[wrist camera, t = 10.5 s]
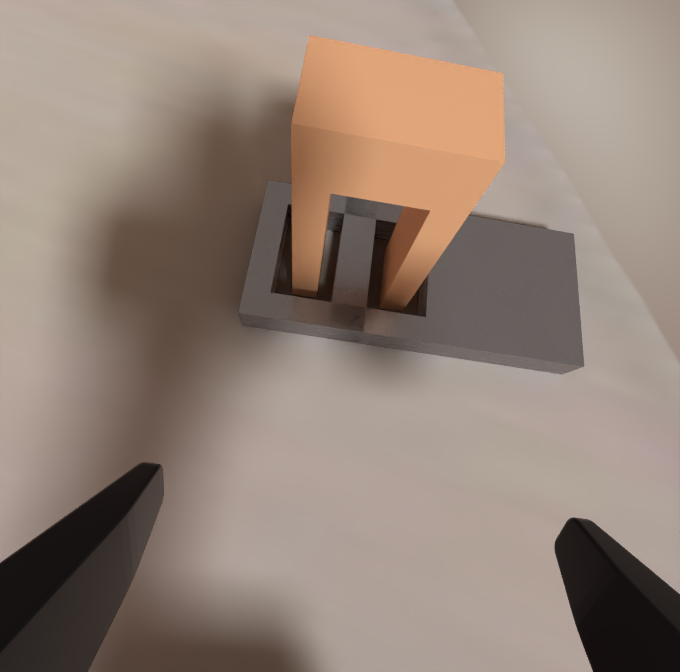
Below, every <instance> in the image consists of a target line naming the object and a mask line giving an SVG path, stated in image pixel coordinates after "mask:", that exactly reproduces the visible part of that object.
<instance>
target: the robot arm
mask: <svg viewBox="0 0 680 672" xmlns="http://www.w3.org/2000/svg"><path fill="white" fill-rule="evenodd" d="M163 496H164V481H163V467H162V466H161V465H160V464H154V463H147V462H143V463H140V464H138V465H137V466H135V467H134V468H133V469H131V470H130V471H128V472H127V473H126V474H124V475H123V476H121V477H120V478H119V479H117V480H116V481H114V482H113V483H111V484H110V485H109V486H107V487H106V488H104V489H103V490H102V491H100V492H99V493H97V494H96V495H95V496H93V497H92V498H90V499H89V500H88V501H86V502H85V503H83V504H82V505H81V506H79V507H78V508H76V509H75V510H74V511H72V512H71V513H69V514H68V515H67V516H65V517H64V518H62V519H61V520H60V521H58V522H57V523H55V524H54V525H53V526H51V527H50V528H48V529H47V530H46V531H44V532H43V533H41V534H40V535H39V536H37V537H36V538H34V539H33V540H31V541H30V542H29V543H27V544H26V545H24V546H23V547H22V548H20V549H19V550H17V551H16V552H15V553H13V554H12V555H10V556H9V557H8V558H6V559H5V560H3V561H2V562H1V563H0V672H88V670H89V668H90V666H91V664H92V662H93V660H94V658H95V656H96V654H97V652H98V650H99V648H100V646H101V644H102V642H103V640H104V638H105V636H106V634H107V632H108V630H109V627H110V625H111V623H112V621H113V619H114V617H115V615H116V613H117V611H118V609H119V607H120V605H121V603H122V601H123V599H124V597H125V595H126V593H127V591H128V589H129V587H130V585H131V582H132V580H133V578H134V576H135V573H136V571H137V568H138V566H139V563H140V560H141V558H142V555H143V552H144V550H145V547H146V544H147V541H148V539H149V536H150V533H151V531H152V528H153V525H154V523H155V520H156V517H157V515H158V512H159V509H160V507H161V504H162V501H163ZM555 554H556V557H557V561H558V565H559V568H560V572H561V575H562V579H563V582H564V586H565V589H566V593H567V596H568V600H569V604H570V607H571V611H572V614H573V617H574V621H575V624H576V627H577V630H578V633H579V635H580V638H581V641H582V644H583V646H584V649H585V652H586V654H587V657H588V660H589V662H590V665H591V667H592V670H593V672H680V594H679V593H678V592H676V591H675V590H674V589H673V588H672V587H670V586H669V585H668V584H667V583H666V582H664V581H663V580H662V579H661V578H660V577H658V576H657V575H656V574H655V573H654V572H652V571H651V570H650V569H649V568H648V567H646V566H645V565H644V564H643V563H642V562H640V561H639V560H638V559H637V558H636V557H634V556H633V555H632V554H631V553H630V552H628V551H627V550H626V549H625V548H624V547H622V546H621V545H620V544H619V543H618V542H616V541H615V540H614V539H613V538H612V537H610V536H609V535H608V534H607V533H606V532H604V531H603V530H602V529H601V528H600V527H598V526H597V525H596V524H595V523H594V522H592V521H590V520H588V519H582V518H570V519H568V521H567V522H566V524H565V525H564V527H563V529H562V530H561V532H560V534H559V535H558V537H557V539H556V541H555Z"/></svg>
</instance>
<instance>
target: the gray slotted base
mask: <svg viewBox="0 0 680 672" xmlns="http://www.w3.org/2000/svg"><path fill="white" fill-rule="evenodd" d="M403 207H404V206H401V205H395V204H389V203H383V202H377V201H371V200H366V199H360V198H354V197H348V196H342V195H337V194H331V201H330V208H329V215H328V223H327V230H333V231H339V232H341V234H340V241H339V248H338V255H337V262H336V269H335V276H334V283H333V290H332V297H331V302H327V301H321V300H315V299H308V298H302V297H296V296H290V295H283V294H277V293H275V289H276V284H277V279H278V274H279V269H280V263H281V258H282V253H283V248H284V243H285V238H286V233H287V228H288V223H292V184H289V183H283V182H278V181H272V180H268V182H267V186H266V191H265V195H264V200H263V204H262V209H261V213H260V218H259V222H258V227H257V231H256V235H255V240H254V244H253V249H252V253H251V258H250V262H249V267H248V271H247V275H246V280H245V284H244V289H243V293H242V298H241V302H240V307H239V311H238V314H239V317H240V320H241V322H242V325H245V326H251V327H258V328H264V329H271V330H277V331H284V332H290V333H297V334H303V335H310V336H316V337H323V338H329V339H336V340H342V341H349V342H355V343H362V344H369V345H375V346H382V347H388V348H395V349H401V350H408V351H414V352H421V353H427V354H434V355H440V356H447V357H453V358H460V359H466V360H473V361H479V362H486V363H492V364H499V365H505V366H512V367H518V368H525V369H532V370H538V371H545V372H551V373H558V374H564V373H567V372H570V371H573V370H576V369H578V368H581V367H584V358H583V346H582V333H581V320H580V307H579V294H578V282H577V269H576V256H575V243H574V234H572V233H566V232H561V231H555V230H549V229H544V228H538V227H532V226H527V225H521V224H515V223H510V222H504V221H498V220H493V219H487V218H481V217H476V216H470V215H468V217H467V218H466V220H465V221H464V223H463V224H462V226H461V227H460V229H459V230H458V231H457V233H456V234H455V236H454V237H453V239H452V240H451V242H450V243H449V245H448V246H447V247H446V249H445V250H444V252H443V253H442V255H441V256H440V258H439V259H438V261H437V262H436V263H435V265H434V266H433V268H432V269H431V271H430V272H429V274H428V275H427V277H426V278H425V280H424V281H423V282H422V284H421V285H420V287H419V291H418V306H417V316H415V315H409V314H403V313H396V312H390V311H384V310H378V309H371V308H366V307H367V298H368V289H369V280H370V271H371V262H372V253H373V244H374V238H380V239H385V240H390V238H391V236H392V233H393V231H394V229H395V226H396V224H397V222H398V219H399V217H400V214H401V212H402V210H403Z"/></svg>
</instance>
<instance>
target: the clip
mask: <svg viewBox="0 0 680 672" xmlns="http://www.w3.org/2000/svg"><path fill="white" fill-rule="evenodd" d="M504 163H505V139H504V88H503V73H499V72H494V71H489V70H484V69H479V68H474V67H469V66H463V65H458V64H453V63H448V62H443V61H438V60H433V59H428V58H423V57H418V56H413V55H408V54H403V53H398V52H392V51H387V50H382V49H377V48H372V47H367V46H362V45H357V44H352V43H347V42H342V41H337V40H332V39H327V38H322V37H316V36H311V35H309V39H308V44H307V49H306V54H305V59H304V63H303V68H302V73H301V78H300V83H299V88H298V92H297V97H296V102H295V107H294V112H293V117H292V121H291V175H292V294H295V295H301V296H308V297H314V298H316V297H317V290H318V284H319V277H320V271H321V264H322V258H323V251H324V244H325V237H326V230H327V223H328V215H329V208H330V201H331V194H337V195H342V196H348V197H354V198H360V199H366V200H371V201H377V202H383V203H389V204H395V205H401V206H404V207H403V210H402V212H401V214H400V217H399V219H398V222H397V224H396V226H395V229H394V231H393V233H392V236H391V238H390V241H389V243H388V245H387V248H386V250H385V254H384V265H383V275H382V286H381V296H380V307H379V308H385V309H392V310H398V311H403V310H404V309H405V307H406V306H407V304H408V303H409V301H410V300H411V298H412V297H413V296H414V294H415V293H416V291H417V290H418V288H419V287H420V285H421V284H422V282H423V281H424V280H425V278H426V277H427V275H428V274H429V272H430V271H431V269H432V268H433V266H434V265H435V263H436V262H437V261H438V259H439V258H440V256H441V255H442V253H443V252H444V250H445V249H446V247H447V246H448V245H449V243H450V242H451V240H452V239H453V237H454V236H455V234H456V233H457V231H458V230H459V229H460V227H461V226H462V224H463V223H464V221H465V220H466V218H467V217H468V215H469V214H470V212H471V211H472V210H473V208H474V207H475V205H476V204H477V202H478V201H479V199H480V198H481V196H482V195H483V194H484V192H485V191H486V189H487V188H488V186H489V185H490V183H491V182H492V180H493V179H494V178H495V176H496V175H497V173H498V172H499V170H500V169H501V167H502V166H503V164H504Z"/></svg>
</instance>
